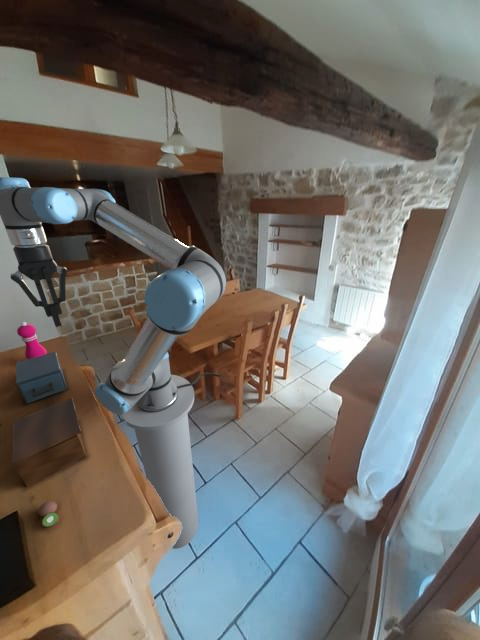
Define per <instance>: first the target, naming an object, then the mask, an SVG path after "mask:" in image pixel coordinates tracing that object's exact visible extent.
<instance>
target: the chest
mask: <svg viewBox="0 0 480 640" xmlns="http://www.w3.org/2000/svg"><path fill="white" fill-rule="evenodd" d="M86 458H87V454H86V450H85V447H84V441H83V439H82V434H81V433H79V434H77V435H75V436H73V437H71V438H69V439H67V440H65V441H63V442H61V443H59V444H57V445H55V446H53V447H50V448H48V449H46V450H44V451H42V452H40V453H38V454H36V455H34V456H32V457H30V458H28V459H26V460H24V461H22V462H19V463H17V464H15V465H13V466H14V468H15V469H16V472H17V473H18V474H19V476H20V477H21V480H22V481H23V483H24V484H25V486H26V488H28V487H30V486H32V485H34V484H36V483H38V482H39V481H43V480H44V479H46V478H48V477H49V476H52V475H54V474H57V473H58V472H60V471H61V470H64V469H66V468H68V467H69V466H72V465H73V464H75V463H77V462H79V461H81V460H83V459H86Z"/></svg>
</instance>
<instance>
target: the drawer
mask: <svg viewBox="0 0 480 640" xmlns="http://www.w3.org/2000/svg"><path fill="white" fill-rule="evenodd" d="M19 387H20V389H21V391H22V393H23V395H24V397H25V399H26V401H27V404H30V403H32V401H33V402H36V401H38V400H41V399H44V398H47V397H49V395H50V396H52V395H55V394H58V393H60V391H61V392H64V391H65V387H64V385H63V382H62V379H61V377H60V374H59V372H56V373H52V374H49V375H46V376H43V377H40V378H37V379H34V380H30V381H27V382H24V383H22V384H19ZM63 390H64V391H63ZM46 396H47V397H46ZM35 400H36V401H35Z"/></svg>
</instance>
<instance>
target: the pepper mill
mask: <svg viewBox="0 0 480 640" xmlns="http://www.w3.org/2000/svg"><path fill="white" fill-rule="evenodd" d="M36 332H37V328H36V327H35V326H34V325H32V324H28V323H27V322H26V321H22V322H21V323H20V326H19V327H18V328H17V330H16V334H17V335H18V336H19V337H20V339H21V340H22V342H24V344H25V352H24V355H25V356H24V357H25V359H26V360H27V359H31V358H34V357H38V356H41V355H45V354H48V352H47V350H46V348H45V347H44V346H43V345H42V344H40V343H39V340H38V339H37V338H38V335H37V333H36Z"/></svg>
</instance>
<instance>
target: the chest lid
mask: <svg viewBox="0 0 480 640" xmlns="http://www.w3.org/2000/svg"><path fill="white" fill-rule="evenodd" d="M78 417H79V416H78V414H77V410H76V406H75V402H74V398H73V397H70V398H67V399H65V400H62V401H60V402H58V403H55V404H53V405H51V406H48V407H45V408H43V409H41V410H38V411H36V412H33V413H31V414H29V415H25V416H24V417H21V418H19V419H16V420H14V421H13V423H12V465H13V466H14V465H15V464H17V463H19V462H22V461H24V460H26V459H28V458H30V457H32V456H34V455H36V454H38V453H40V452H42V451H44V450H46V449H48V448H50V447H53V446H55V445H57V444H59V443H61V442H63V441H65V440H67V439H69V438H71V437H73V436H75V435H77V434H79V433H80V434H81V433H82V429H81V425H80V421H79V418H78Z"/></svg>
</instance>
